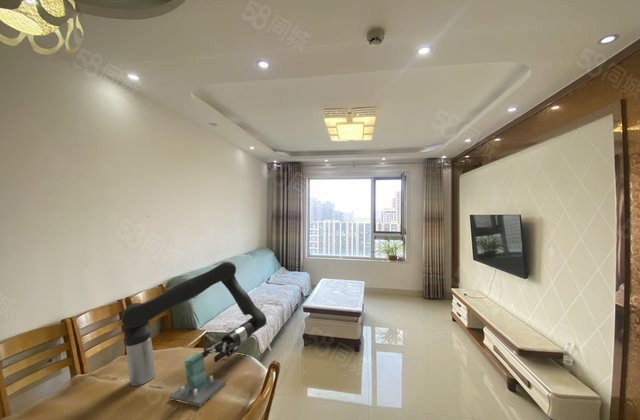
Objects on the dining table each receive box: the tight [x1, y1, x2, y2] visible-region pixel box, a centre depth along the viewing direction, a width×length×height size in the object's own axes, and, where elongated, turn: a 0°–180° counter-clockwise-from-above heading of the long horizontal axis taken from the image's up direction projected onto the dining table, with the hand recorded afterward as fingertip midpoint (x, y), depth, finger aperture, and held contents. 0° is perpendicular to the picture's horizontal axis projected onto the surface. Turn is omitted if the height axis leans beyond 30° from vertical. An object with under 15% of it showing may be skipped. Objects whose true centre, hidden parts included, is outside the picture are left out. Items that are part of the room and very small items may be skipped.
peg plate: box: [169, 375, 227, 407], centre depth 98 cm, size 16×12×4 cm
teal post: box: [184, 352, 207, 393], centre depth 98 cm, size 4×5×12 cm
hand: (207, 358), depth 103 cm, fingers open, 8 cm apart
